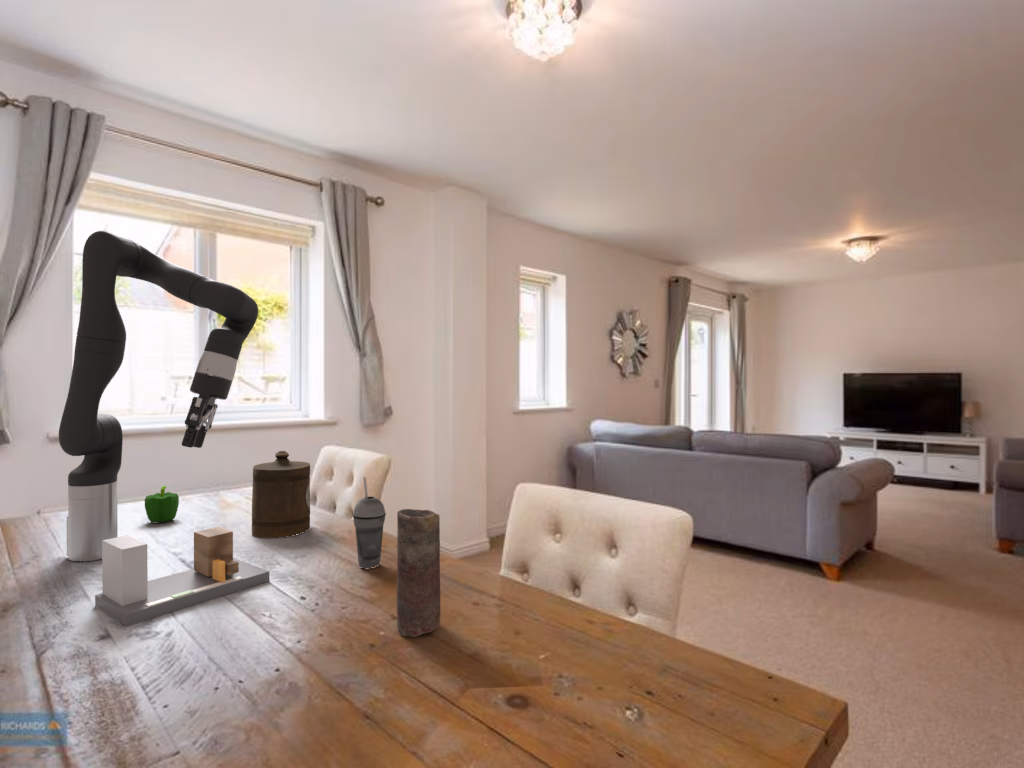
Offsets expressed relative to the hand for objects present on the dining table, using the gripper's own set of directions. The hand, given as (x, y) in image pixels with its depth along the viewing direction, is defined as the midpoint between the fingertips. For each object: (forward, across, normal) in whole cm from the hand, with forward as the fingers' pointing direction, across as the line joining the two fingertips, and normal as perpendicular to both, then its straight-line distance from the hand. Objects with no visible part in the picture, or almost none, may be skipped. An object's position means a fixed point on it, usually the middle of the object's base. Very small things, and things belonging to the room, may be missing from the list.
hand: (191, 447), depth 120 cm
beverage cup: (+18, +4, +43) cm, 47 cm away
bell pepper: (+24, -52, -11) cm, 59 cm away
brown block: (+23, +6, +13) cm, 28 cm away
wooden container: (+18, -32, +22) cm, 43 cm away
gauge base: (+27, +9, +9) cm, 30 cm away
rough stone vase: (+21, +38, +49) cm, 66 cm away
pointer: (+24, +11, +14) cm, 30 cm away
